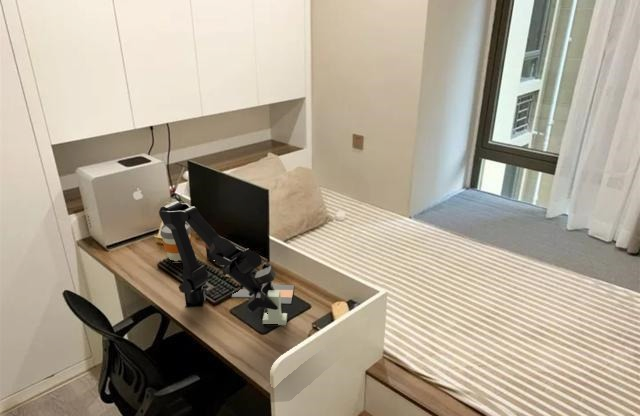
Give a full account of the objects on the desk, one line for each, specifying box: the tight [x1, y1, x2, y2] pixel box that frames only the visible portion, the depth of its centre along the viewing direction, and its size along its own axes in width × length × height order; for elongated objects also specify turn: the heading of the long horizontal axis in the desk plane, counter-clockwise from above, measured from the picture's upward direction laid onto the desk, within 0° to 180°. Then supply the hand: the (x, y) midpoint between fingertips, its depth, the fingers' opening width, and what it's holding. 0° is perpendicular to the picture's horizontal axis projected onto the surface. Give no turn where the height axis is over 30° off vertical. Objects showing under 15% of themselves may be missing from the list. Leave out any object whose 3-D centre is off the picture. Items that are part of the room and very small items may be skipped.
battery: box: [204, 242, 214, 262], centre depth 195 cm, size 4×7×10 cm, turn 49°
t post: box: [262, 290, 288, 326], centre depth 154 cm, size 8×4×12 cm, turn 87°
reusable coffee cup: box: [160, 222, 192, 261], centre depth 195 cm, size 13×13×15 cm
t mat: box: [231, 284, 295, 305], centre depth 171 cm, size 23×12×1 cm, turn 87°
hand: (278, 304), depth 153 cm, fingers open, 5 cm apart
